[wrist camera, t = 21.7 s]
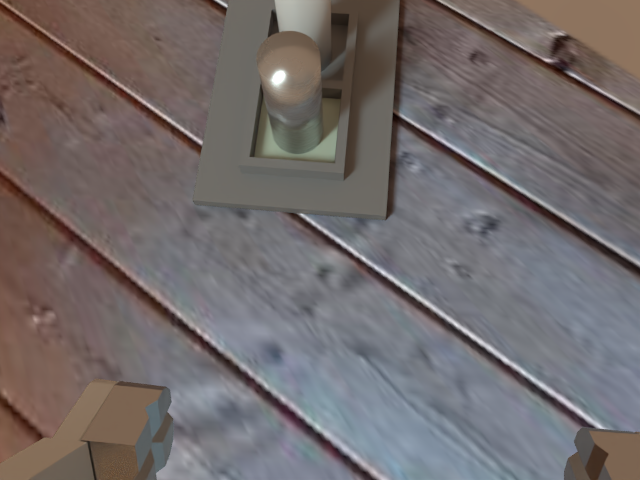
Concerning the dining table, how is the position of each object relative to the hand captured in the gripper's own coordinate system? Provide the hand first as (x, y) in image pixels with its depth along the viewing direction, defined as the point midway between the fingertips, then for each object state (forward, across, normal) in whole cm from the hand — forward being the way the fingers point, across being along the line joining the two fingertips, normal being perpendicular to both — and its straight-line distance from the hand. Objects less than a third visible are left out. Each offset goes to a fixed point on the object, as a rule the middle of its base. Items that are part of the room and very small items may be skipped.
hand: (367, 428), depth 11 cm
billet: (+38, -6, -5) cm, 39 cm away
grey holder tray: (+42, -6, -3) cm, 42 cm away
